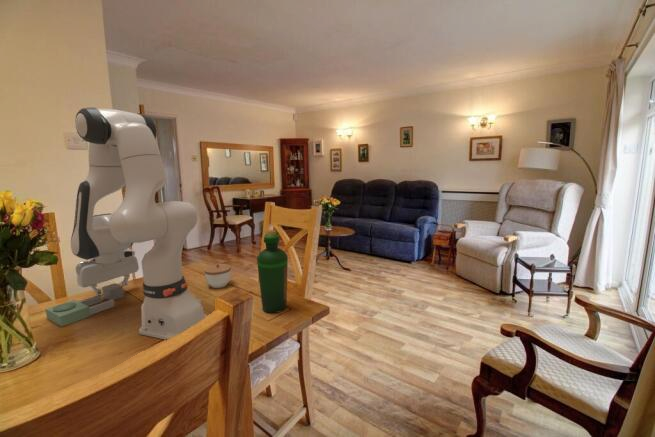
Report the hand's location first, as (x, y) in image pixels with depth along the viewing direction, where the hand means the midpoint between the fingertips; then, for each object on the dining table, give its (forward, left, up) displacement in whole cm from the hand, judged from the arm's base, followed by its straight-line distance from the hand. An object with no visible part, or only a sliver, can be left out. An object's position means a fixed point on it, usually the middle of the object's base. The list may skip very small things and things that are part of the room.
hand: (111, 289), depth 121 cm
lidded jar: (-28, -28, -3) cm, 39 cm away
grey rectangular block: (-1, 0, -3) cm, 3 cm away
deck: (-5, +12, -3) cm, 13 cm away
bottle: (-62, -23, -3) cm, 66 cm away
